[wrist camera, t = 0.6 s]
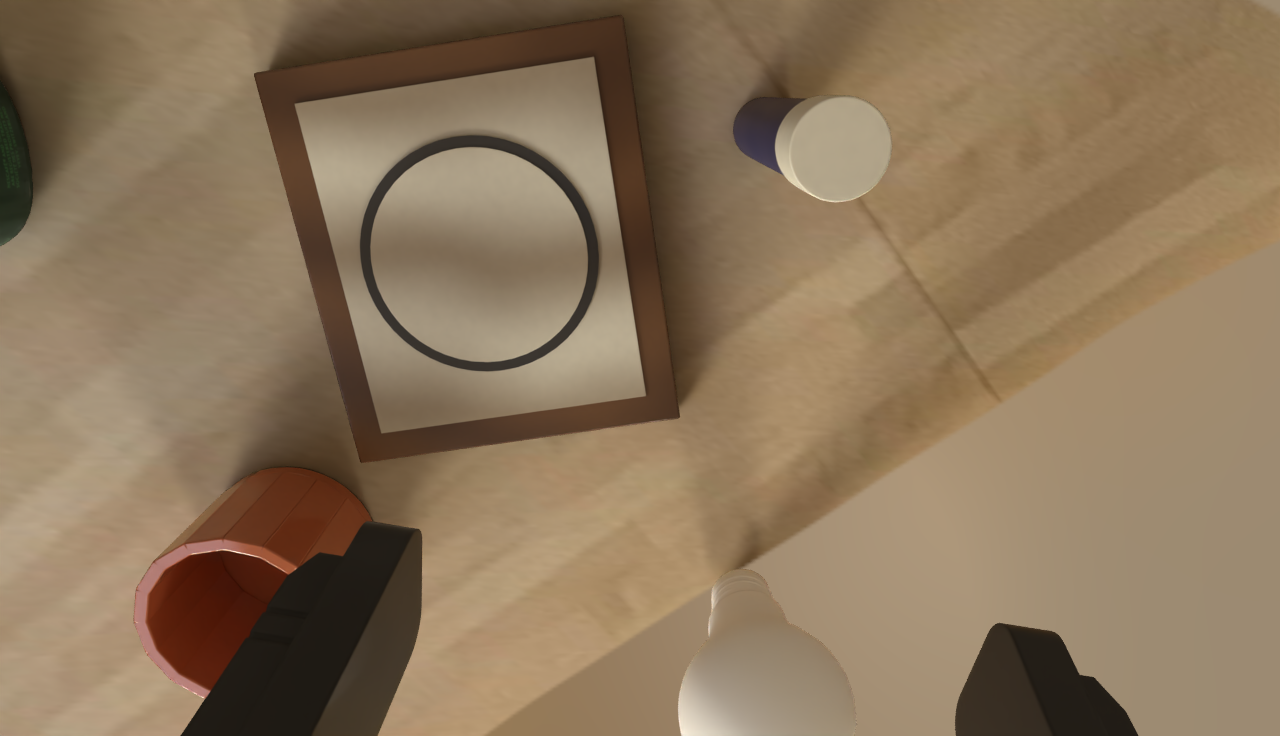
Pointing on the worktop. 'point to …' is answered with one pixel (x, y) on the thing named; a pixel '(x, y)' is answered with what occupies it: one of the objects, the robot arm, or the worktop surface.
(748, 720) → the lightbulb
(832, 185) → the cylinder
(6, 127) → the coffee jar
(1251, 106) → the worktop surface
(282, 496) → the pen pot
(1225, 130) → the worktop surface
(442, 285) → the picture frame
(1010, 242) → the worktop surface
